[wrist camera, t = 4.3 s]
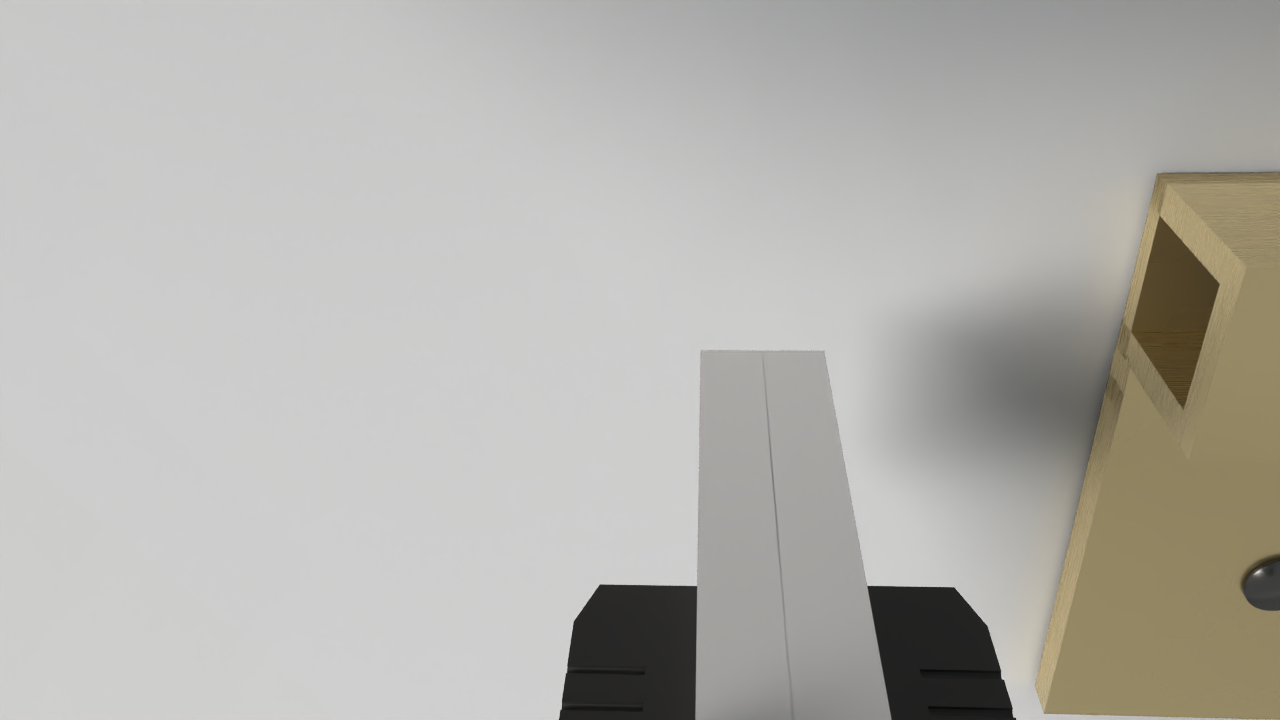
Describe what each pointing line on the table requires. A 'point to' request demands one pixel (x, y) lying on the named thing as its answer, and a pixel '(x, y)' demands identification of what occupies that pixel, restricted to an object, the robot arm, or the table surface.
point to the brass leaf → (1183, 475)
